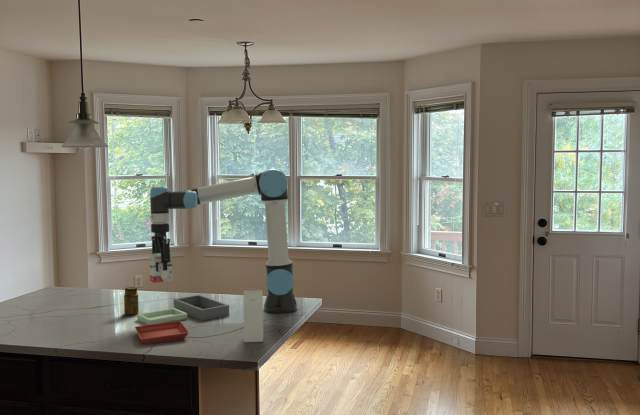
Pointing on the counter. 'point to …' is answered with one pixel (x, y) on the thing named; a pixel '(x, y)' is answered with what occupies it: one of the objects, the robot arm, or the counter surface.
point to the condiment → (130, 302)
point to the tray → (162, 316)
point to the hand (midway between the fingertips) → (161, 276)
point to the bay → (188, 307)
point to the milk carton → (253, 316)
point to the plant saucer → (162, 332)
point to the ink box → (159, 268)
